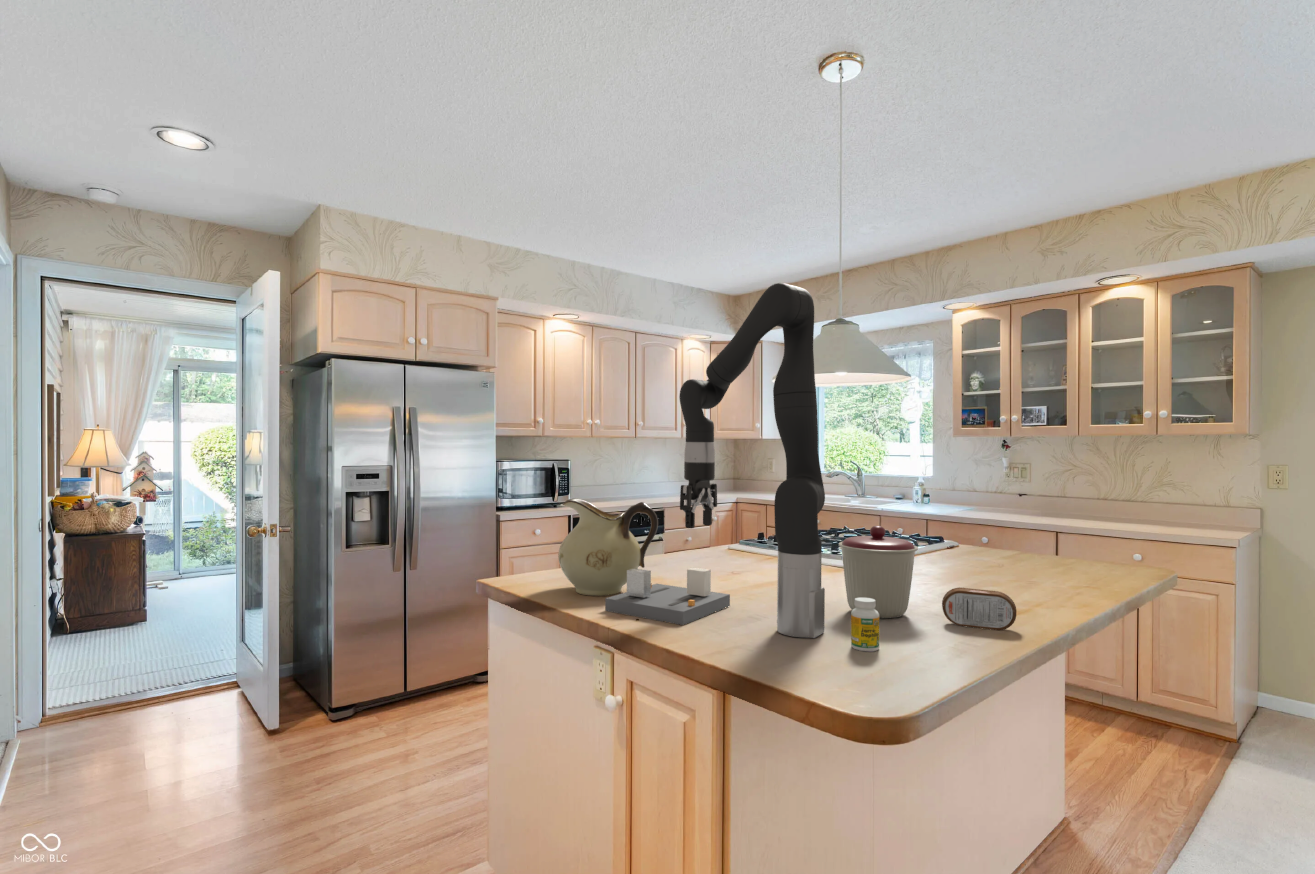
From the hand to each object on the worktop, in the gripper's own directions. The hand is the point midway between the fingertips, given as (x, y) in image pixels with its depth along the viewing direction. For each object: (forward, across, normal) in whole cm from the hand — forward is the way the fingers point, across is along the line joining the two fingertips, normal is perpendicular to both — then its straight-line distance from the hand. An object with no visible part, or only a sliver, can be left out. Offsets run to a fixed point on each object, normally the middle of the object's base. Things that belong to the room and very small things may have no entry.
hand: (698, 526), depth 163 cm
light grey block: (+17, -10, +11) cm, 22 cm away
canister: (+20, +21, -38) cm, 48 cm away
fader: (+17, 0, 0) cm, 17 cm away
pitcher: (+20, +1, +32) cm, 37 cm away
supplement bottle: (+20, -9, -44) cm, 49 cm away
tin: (+20, +22, -60) cm, 67 cm away
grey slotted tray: (+20, -5, +6) cm, 21 cm away
